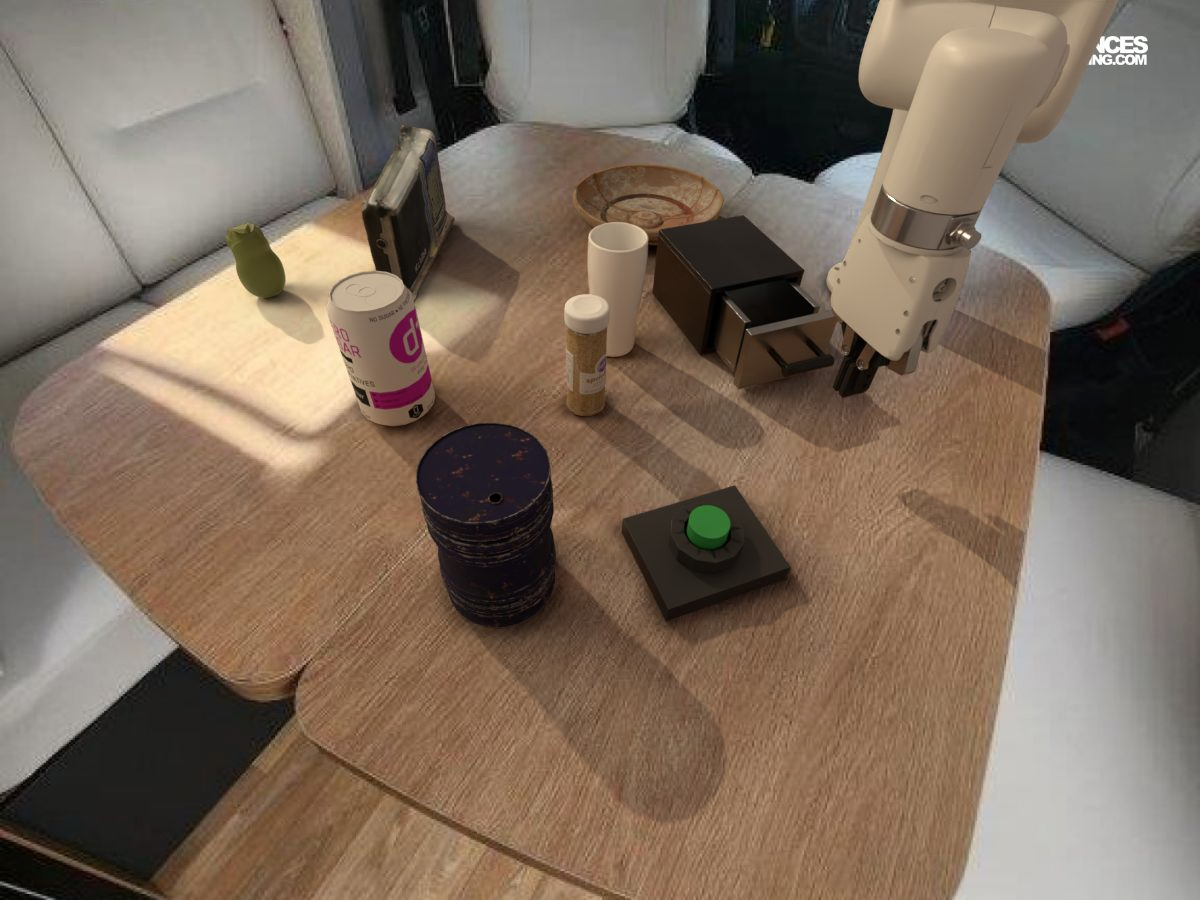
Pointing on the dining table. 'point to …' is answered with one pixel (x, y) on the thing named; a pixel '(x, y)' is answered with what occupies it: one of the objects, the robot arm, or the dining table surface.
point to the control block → (702, 555)
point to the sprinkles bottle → (586, 353)
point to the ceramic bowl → (647, 198)
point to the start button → (708, 527)
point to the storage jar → (491, 521)
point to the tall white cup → (618, 278)
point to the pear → (256, 261)
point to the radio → (408, 210)
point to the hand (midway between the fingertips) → (849, 389)
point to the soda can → (382, 346)
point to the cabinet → (713, 270)
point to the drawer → (770, 332)
